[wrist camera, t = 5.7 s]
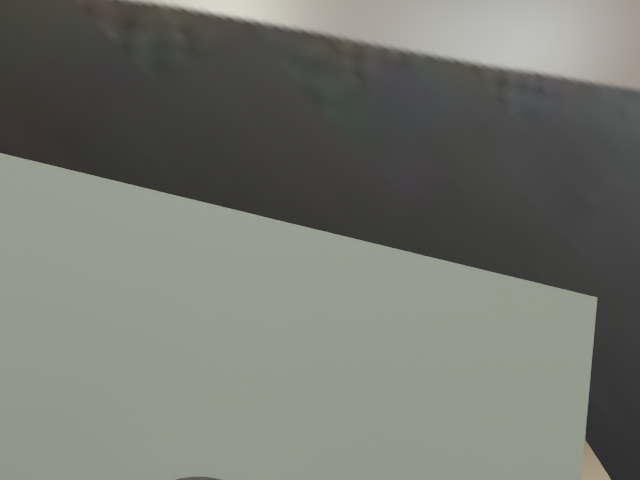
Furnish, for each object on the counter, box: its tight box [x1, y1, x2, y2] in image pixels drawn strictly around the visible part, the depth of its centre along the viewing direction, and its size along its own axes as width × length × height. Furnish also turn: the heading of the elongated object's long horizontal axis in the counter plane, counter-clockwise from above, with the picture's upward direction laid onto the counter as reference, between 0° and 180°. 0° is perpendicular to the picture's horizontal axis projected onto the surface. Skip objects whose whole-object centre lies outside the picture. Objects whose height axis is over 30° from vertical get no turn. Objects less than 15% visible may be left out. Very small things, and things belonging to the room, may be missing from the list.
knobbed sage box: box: [0, 153, 597, 480], centre depth 10 cm, size 7×7×13 cm
